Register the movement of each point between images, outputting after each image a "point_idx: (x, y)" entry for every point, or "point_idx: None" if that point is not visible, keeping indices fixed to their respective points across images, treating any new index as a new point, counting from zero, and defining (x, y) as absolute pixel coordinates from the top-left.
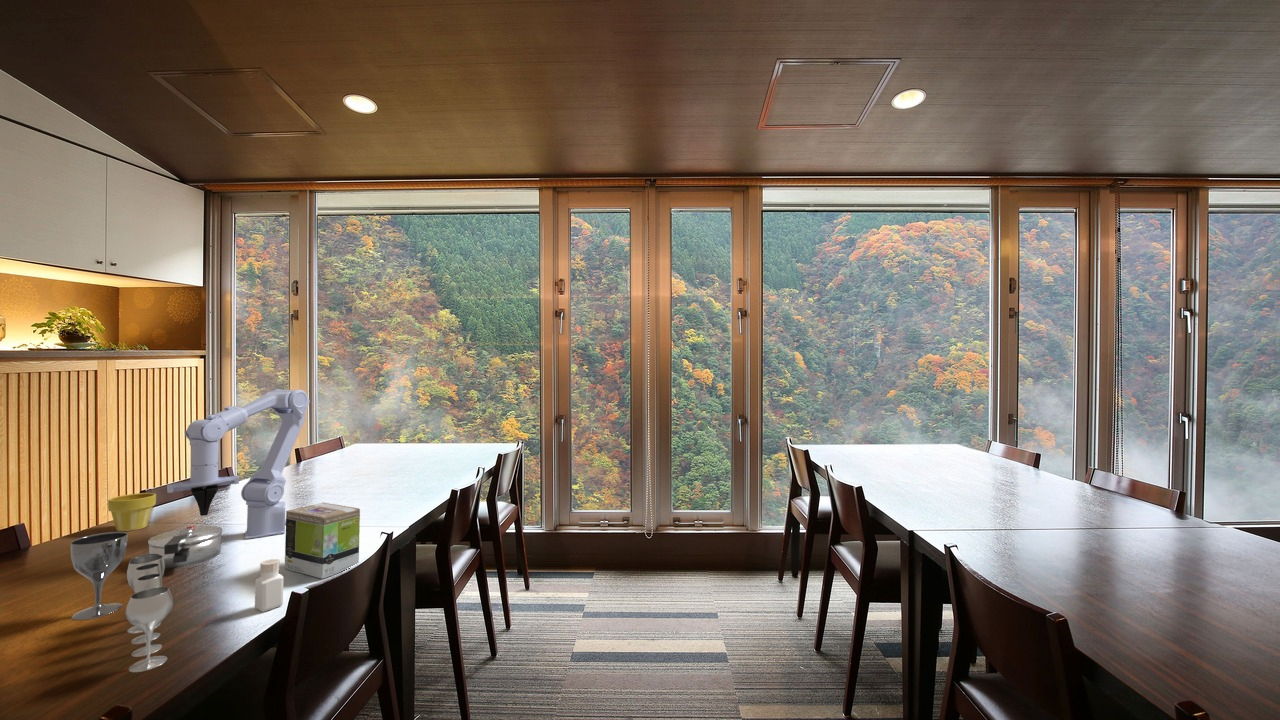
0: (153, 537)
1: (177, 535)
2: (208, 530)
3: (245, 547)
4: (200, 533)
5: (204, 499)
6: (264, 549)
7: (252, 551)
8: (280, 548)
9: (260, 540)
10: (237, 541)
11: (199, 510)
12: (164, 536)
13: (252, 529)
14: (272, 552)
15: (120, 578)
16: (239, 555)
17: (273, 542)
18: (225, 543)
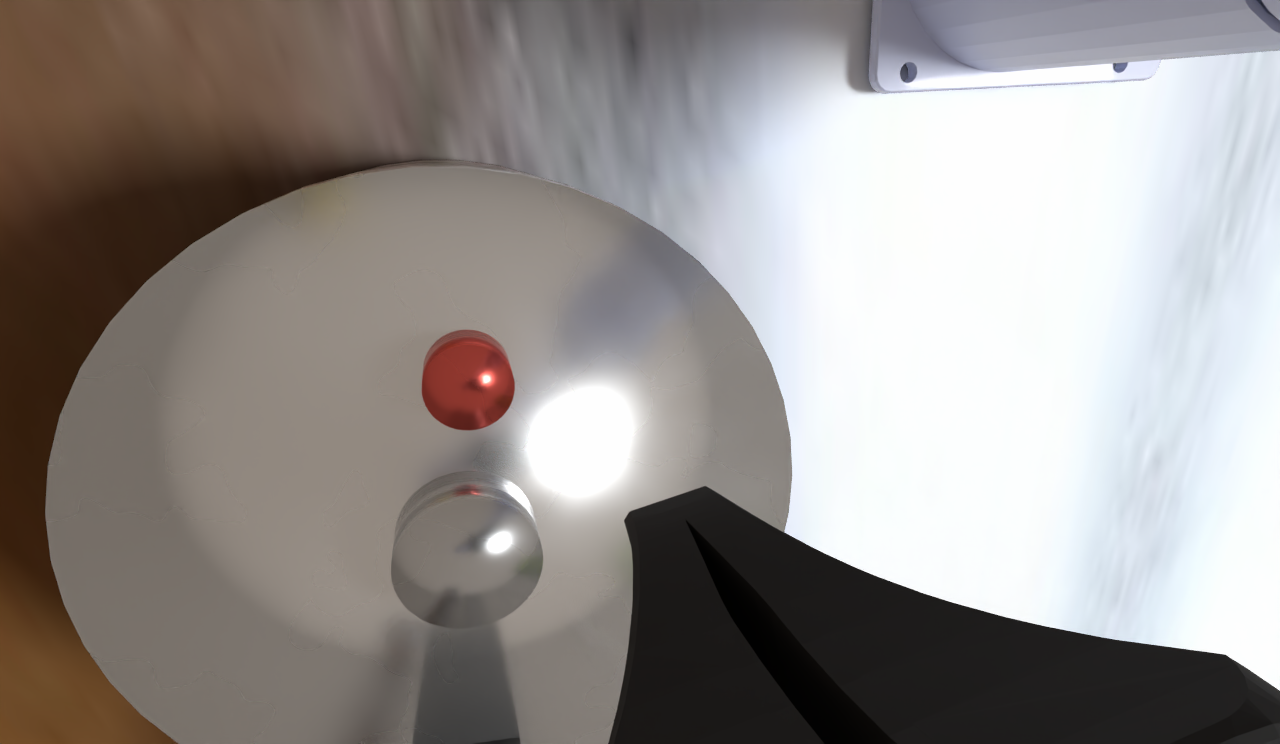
0: (73, 509)
1: (370, 532)
2: (668, 454)
3: (856, 348)
4: (605, 543)
5: (795, 675)
6: (956, 466)
7: (889, 477)
8: (1035, 489)
9: (963, 191)
10: (807, 104)
11: (633, 556)
12: (214, 511)
13: (979, 32)
14: (985, 553)
15: (112, 736)
16: (815, 532)
17: (1027, 313)
18: (715, 114)
